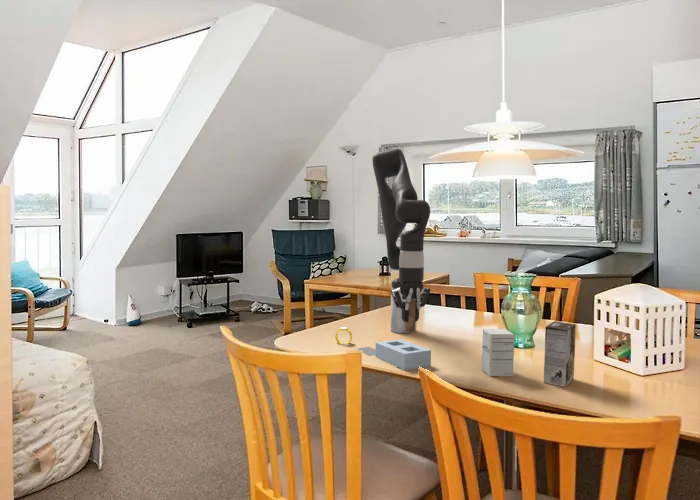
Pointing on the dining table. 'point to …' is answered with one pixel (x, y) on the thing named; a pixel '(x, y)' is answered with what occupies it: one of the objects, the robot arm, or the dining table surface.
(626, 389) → the dining table surface
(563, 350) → the coffee box
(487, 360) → the supplement box
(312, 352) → the dining table surface
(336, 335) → the watch
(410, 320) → the dowel
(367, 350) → the mat
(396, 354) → the hole block
